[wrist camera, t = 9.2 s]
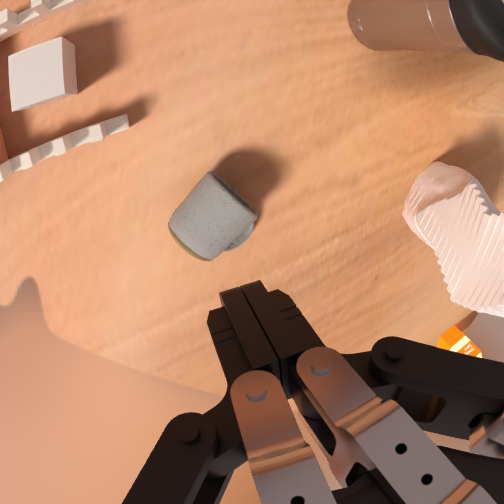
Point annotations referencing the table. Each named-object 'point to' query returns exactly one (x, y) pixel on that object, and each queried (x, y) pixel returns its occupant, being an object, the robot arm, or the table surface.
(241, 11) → the table surface
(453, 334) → the orange juice
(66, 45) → the white cube
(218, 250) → the ceramic mug
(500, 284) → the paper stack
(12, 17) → the notched wall frame
